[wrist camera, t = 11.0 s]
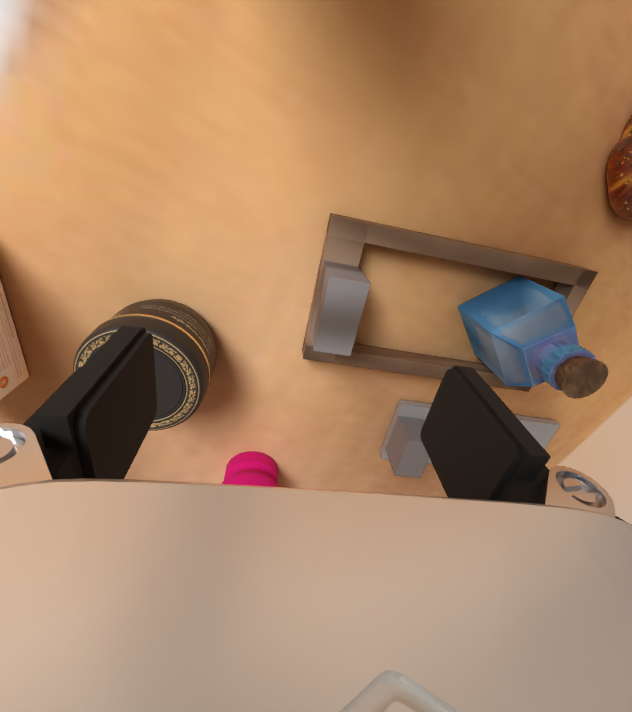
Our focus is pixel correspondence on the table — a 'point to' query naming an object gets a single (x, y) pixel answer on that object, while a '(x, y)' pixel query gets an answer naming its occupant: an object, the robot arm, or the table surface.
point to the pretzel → (621, 175)
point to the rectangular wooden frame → (350, 287)
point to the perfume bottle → (530, 338)
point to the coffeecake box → (9, 351)
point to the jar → (166, 354)
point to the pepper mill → (251, 470)
